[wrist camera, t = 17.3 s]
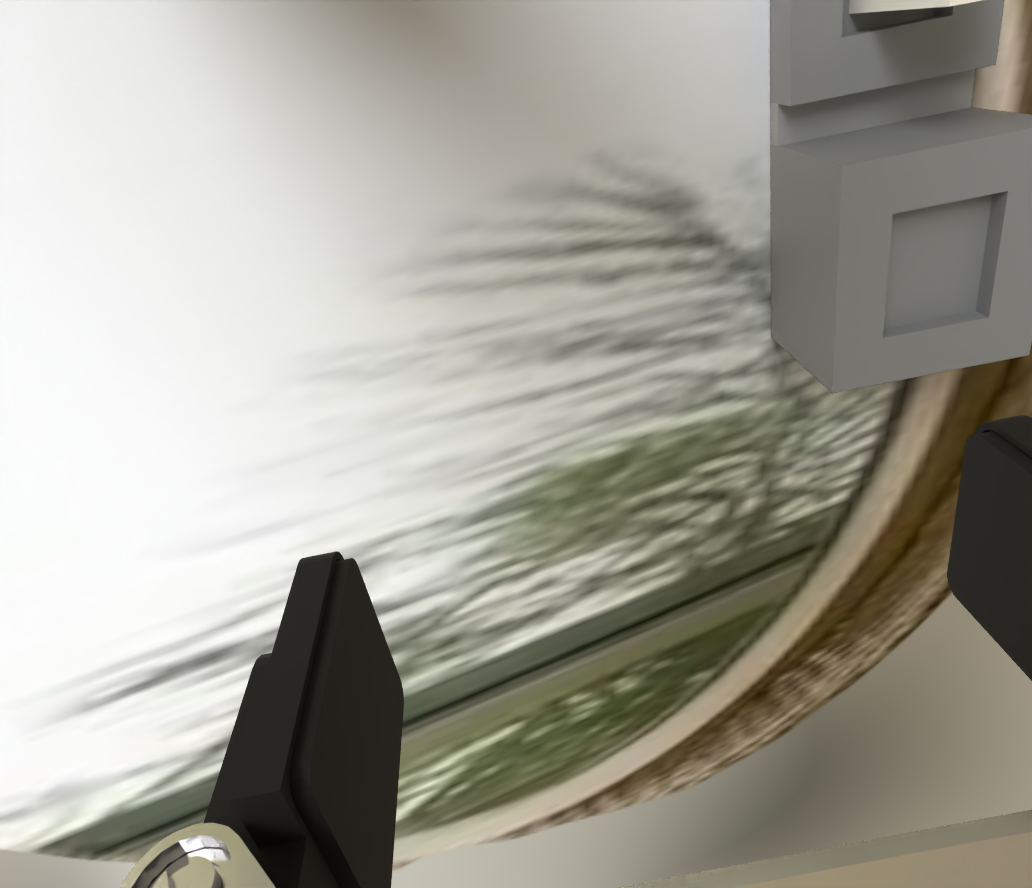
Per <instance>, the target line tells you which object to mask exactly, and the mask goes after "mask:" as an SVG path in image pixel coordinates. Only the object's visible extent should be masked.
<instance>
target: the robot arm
mask: <svg viewBox="0 0 1032 888" xmlns="http://www.w3.org/2000/svg"><path fill="white" fill-rule="evenodd" d="M947 578H948V583H949V586H950V588H951V590H952V592H953V594H954V595H955V597H956V598H957V599H958V600H959V601H960V602H961V604H962V605H963V606H964V607H965V608H966V609H967V610H968V611H969V612H970V613H971V614H972V616H973V617H974V618H975V619H976V620H977V621H978V622H979V623H980V624H981V626H982V627H983V628H984V629H985V630H986V631H987V632H988V633H989V634H990V635H991V636H992V637H993V639H994V640H995V641H996V642H997V643H998V644H999V645H1000V646H1001V647H1002V648H1003V649H1004V651H1005V652H1006V653H1007V654H1008V655H1009V656H1010V657H1011V658H1012V660H1013V661H1014V662H1015V663H1016V664H1017V665H1018V666H1019V667H1020V668H1021V669H1022V671H1023V672H1024V673H1025V674H1026V675H1027V676H1028V677H1029V678H1030V679H1031V680H1032V418H1031V417H1028V416H1015V417H1010V418H1005V419H1000V420H995V421H990V422H985V423H983V424H981V425H979V427H978V428H977V429H976V432H975V435H972V436H970V437H969V438H968V439H967V442H966V445H965V452H964V459H963V466H962V473H961V480H960V487H959V494H958V501H957V508H956V515H955V522H954V529H953V536H952V543H951V550H950V556H949V563H948V570H947ZM403 708H404V696H403V688H402V683H401V680H400V677H399V674H398V672H397V669H396V666H395V664H394V661H393V658H392V656H391V653H390V650H389V648H388V645H387V642H386V640H385V637H384V634H383V632H382V629H381V626H380V624H379V621H378V618H377V616H376V613H375V610H374V608H373V605H372V602H371V600H370V597H369V594H368V592H367V589H366V586H365V583H364V581H363V578H362V575H361V573H360V570H359V567H358V565H357V563H356V561H355V560H354V559H353V558H350V559H345V560H344V559H343V556H342V555H341V554H340V552H331V553H326V554H321V555H316V556H311V557H306V558H302V559H301V560H300V561H299V563H298V566H297V569H296V573H295V576H294V579H293V583H292V586H291V590H290V593H289V597H288V600H287V603H286V607H285V610H284V614H283V617H282V620H281V624H280V627H279V631H278V634H277V638H276V641H275V644H274V648H273V651H272V653H269V654H264V655H261V656H260V657H259V658H258V659H257V660H256V662H255V664H254V666H253V669H252V672H251V675H250V678H249V681H248V684H247V688H246V691H245V694H244V697H243V700H242V703H241V707H240V710H239V713H238V716H237V719H236V722H235V726H234V729H233V732H232V735H231V738H230V741H229V745H228V748H227V751H226V754H225V757H224V760H223V764H222V767H221V770H220V773H219V776H218V779H217V783H216V786H215V789H214V792H213V795H212V798H211V802H210V805H209V808H208V811H207V814H206V817H205V820H204V823H203V824H195V825H192V826H189V827H187V828H184V829H182V830H179V831H177V832H174V833H173V834H171V835H170V836H168V837H167V838H165V839H164V840H162V841H160V842H159V843H157V844H156V845H155V846H154V847H153V848H151V849H150V850H149V851H148V852H147V853H146V854H145V855H144V856H143V857H142V858H141V859H140V860H139V861H138V862H137V863H136V864H135V866H134V867H133V868H132V870H131V871H130V872H129V874H128V875H127V877H126V878H125V879H124V881H123V882H122V884H121V886H120V888H391V878H392V864H393V850H394V836H395V822H396V808H397V793H398V779H399V765H400V751H401V737H402V722H403ZM620 888H1032V810H1028V811H1023V812H1017V813H1012V814H1006V815H1001V816H995V817H990V818H985V819H979V820H974V821H968V822H963V823H957V824H952V825H947V826H941V827H936V828H931V829H925V830H920V831H915V832H909V833H904V834H899V835H893V836H888V837H883V838H877V839H872V840H866V841H861V842H856V843H851V844H845V845H840V846H835V847H829V848H824V849H819V850H813V851H808V852H803V853H798V854H792V855H787V856H782V857H776V858H771V859H766V860H761V861H755V862H750V863H744V864H739V865H735V866H729V867H724V868H719V869H713V870H708V871H703V872H698V873H693V874H688V875H682V876H678V877H672V878H667V879H662V880H656V881H651V882H646V883H641V884H636V885H631V886H625V887H620Z"/></svg>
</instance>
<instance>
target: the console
mask: <svg viewBox="0 0 1032 888" xmlns="http://www.w3.org/2000/svg"><path fill="white" fill-rule="evenodd" d="M849 1H850V0H770V140H771V337H772V338H773V339H774V340H775V341H776V342H777V343H778V344H779V345H780V346H781V347H782V348H783V349H785V350H786V351H787V352H788V353H789V354H790V355H791V356H792V357H793V358H794V359H795V360H797V361H798V362H799V363H800V364H801V365H802V366H803V367H804V368H805V369H806V370H807V371H809V372H810V373H811V374H812V375H813V376H814V377H815V378H816V379H817V380H818V381H819V382H821V383H822V384H823V385H824V386H825V387H826V388H827V389H828V390H829V391H830V392H831V393H836V392H841V391H847V390H852V389H857V388H862V387H867V386H872V385H877V384H883V383H888V382H893V381H898V380H903V379H908V378H913V377H918V376H924V375H929V374H934V373H939V372H944V371H949V370H954V369H960V368H965V367H970V366H975V365H980V364H985V363H990V362H996V361H1001V360H1006V359H1011V358H1016V357H1021V356H1026V355H1029V353H1030V347H1031V342H1032V115H1028V114H1020V113H1012V112H1004V111H996V110H988V109H980V108H972V107H971V101H972V93H973V85H974V76H975V69H977V68H982V67H987V66H992V65H996V59H997V52H998V44H999V37H1000V29H1001V22H1002V14H1003V7H1004V0H982V1H977V2H971V3H966V4H960V5H955V6H949V7H935V8H922V9H908V10H894V11H881V12H867V13H853V14H849Z"/></svg>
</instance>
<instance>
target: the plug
mask: <svg viewBox="0 0 1032 888" xmlns="http://www.w3.org/2000/svg"><path fill="white" fill-rule="evenodd" d="M977 1H982V0H850V1H849V14H853V13H867V12H881V11H894V10H908V9H922V8H935V7H949V6H955V5H960V4H966V3H971V2H977Z"/></svg>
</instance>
